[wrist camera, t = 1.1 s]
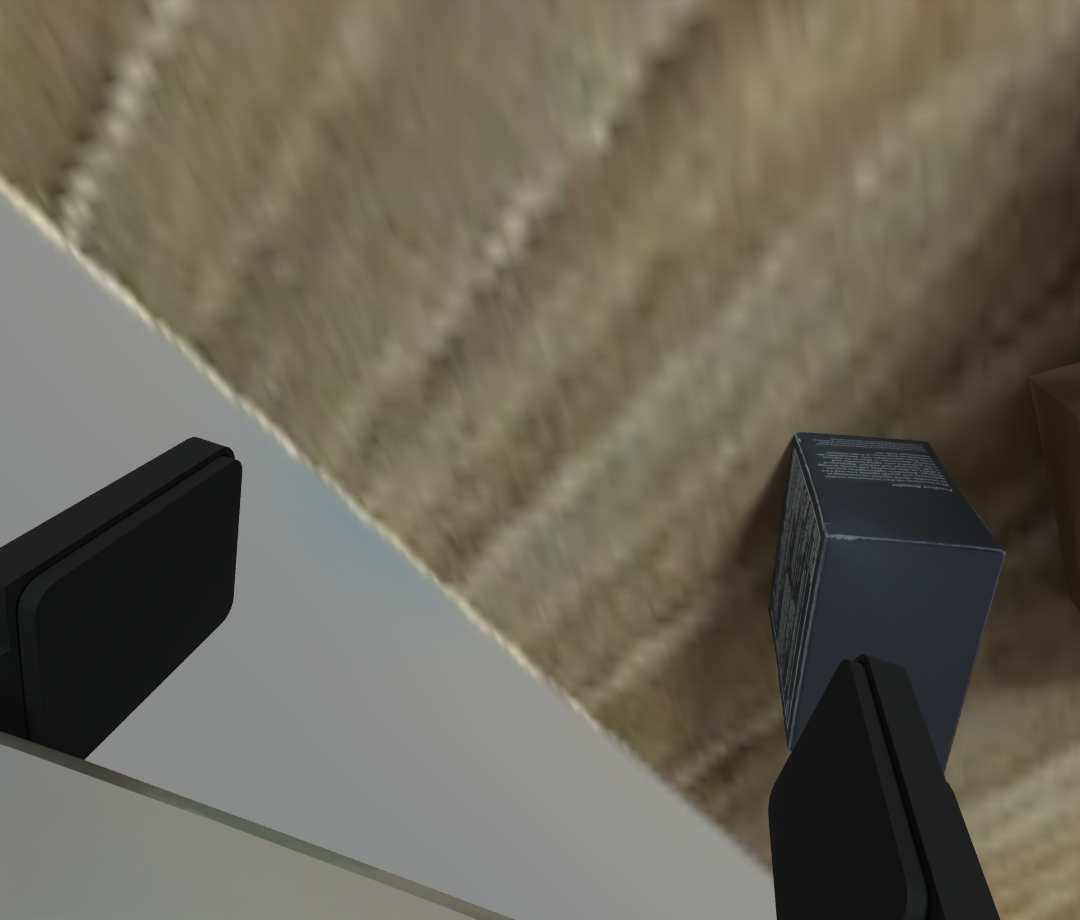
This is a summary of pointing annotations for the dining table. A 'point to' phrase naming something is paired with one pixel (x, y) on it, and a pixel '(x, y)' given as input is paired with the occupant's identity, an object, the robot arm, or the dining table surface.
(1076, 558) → the walnut block
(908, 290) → the dining table surface
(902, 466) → the small box
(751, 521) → the dining table surface
